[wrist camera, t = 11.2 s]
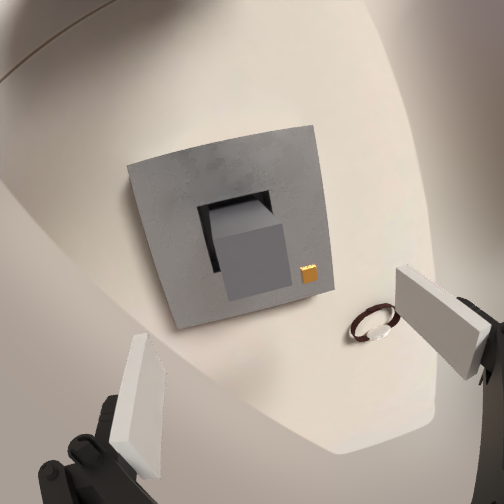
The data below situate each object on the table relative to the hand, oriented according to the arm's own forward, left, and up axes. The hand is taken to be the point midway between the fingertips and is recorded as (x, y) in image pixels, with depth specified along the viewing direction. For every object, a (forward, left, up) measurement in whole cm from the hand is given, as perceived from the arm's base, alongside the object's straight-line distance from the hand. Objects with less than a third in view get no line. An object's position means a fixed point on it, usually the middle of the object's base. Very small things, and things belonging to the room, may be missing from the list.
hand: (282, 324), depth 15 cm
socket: (0, 0, -21) cm, 21 cm away
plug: (0, 0, -20) cm, 20 cm away
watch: (+18, +16, -21) cm, 32 cm away
